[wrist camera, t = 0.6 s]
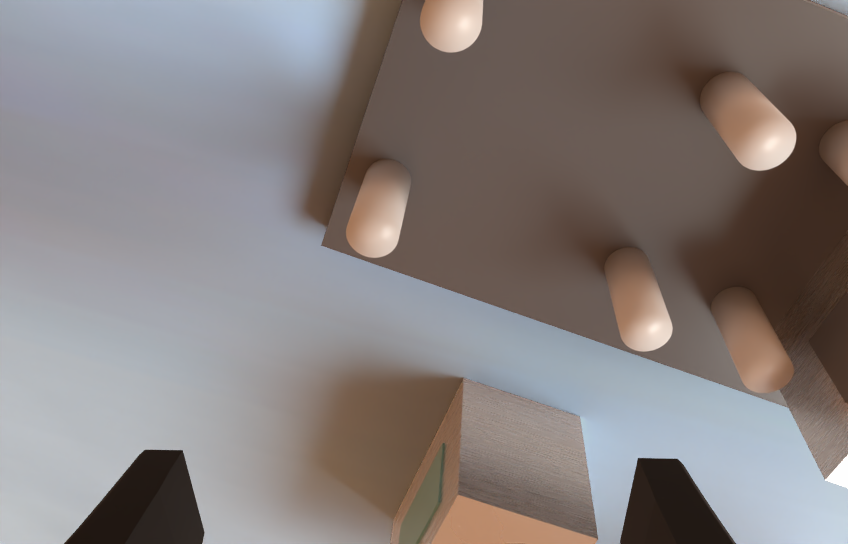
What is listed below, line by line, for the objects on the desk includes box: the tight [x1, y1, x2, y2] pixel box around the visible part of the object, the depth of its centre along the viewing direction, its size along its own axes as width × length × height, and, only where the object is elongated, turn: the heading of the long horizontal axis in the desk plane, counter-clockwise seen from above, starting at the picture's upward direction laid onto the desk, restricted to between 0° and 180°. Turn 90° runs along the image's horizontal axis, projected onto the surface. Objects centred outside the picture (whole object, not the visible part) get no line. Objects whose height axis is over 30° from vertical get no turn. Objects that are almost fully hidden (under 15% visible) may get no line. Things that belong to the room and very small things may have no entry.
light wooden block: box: [390, 378, 598, 544], centre depth 24 cm, size 7×4×5 cm, turn 160°
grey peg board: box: [321, 0, 848, 408], centre depth 19 cm, size 10×19×4 cm, turn 70°
